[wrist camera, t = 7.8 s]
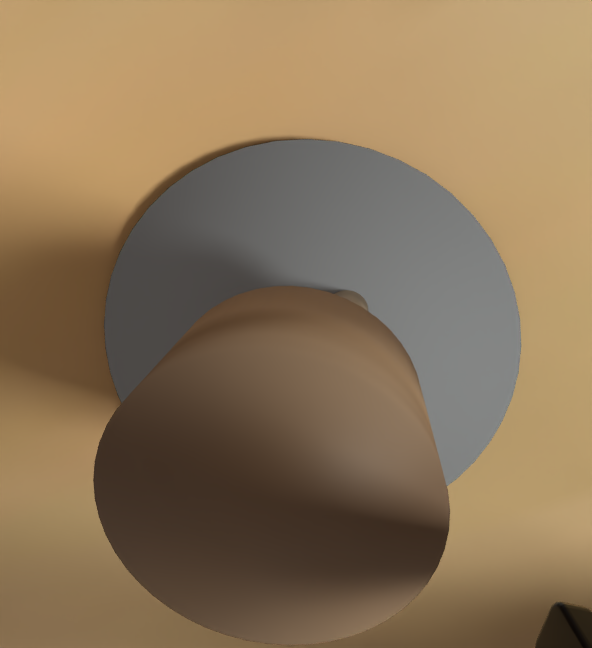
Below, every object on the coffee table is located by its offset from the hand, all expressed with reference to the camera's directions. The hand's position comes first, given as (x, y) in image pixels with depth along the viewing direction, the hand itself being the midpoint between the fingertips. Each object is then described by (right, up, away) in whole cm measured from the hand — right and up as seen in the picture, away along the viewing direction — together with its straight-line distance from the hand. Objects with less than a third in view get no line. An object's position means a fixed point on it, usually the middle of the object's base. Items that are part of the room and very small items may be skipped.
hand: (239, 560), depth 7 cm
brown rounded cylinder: (+1, +2, +7) cm, 8 cm away
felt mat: (+1, +3, +8) cm, 8 cm away
